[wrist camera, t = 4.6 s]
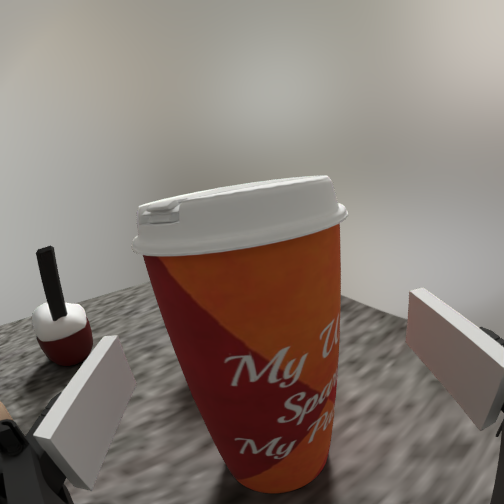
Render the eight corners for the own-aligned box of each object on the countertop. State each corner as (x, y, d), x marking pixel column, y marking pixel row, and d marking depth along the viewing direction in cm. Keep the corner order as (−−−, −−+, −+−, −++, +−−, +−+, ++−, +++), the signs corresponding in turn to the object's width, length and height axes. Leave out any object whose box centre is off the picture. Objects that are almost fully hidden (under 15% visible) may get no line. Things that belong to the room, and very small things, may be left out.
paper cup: (295, 534, 9) (242, 194, 5) (182, 466, 14) (91, 215, 10) (370, 429, 14) (373, 169, 11) (266, 395, 19) (231, 184, 16)
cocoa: (55, 350, 29) (19, 253, 26) (99, 335, 32) (67, 236, 29) (45, 390, 21) (-7, 265, 18) (102, 373, 23) (54, 244, 21)
